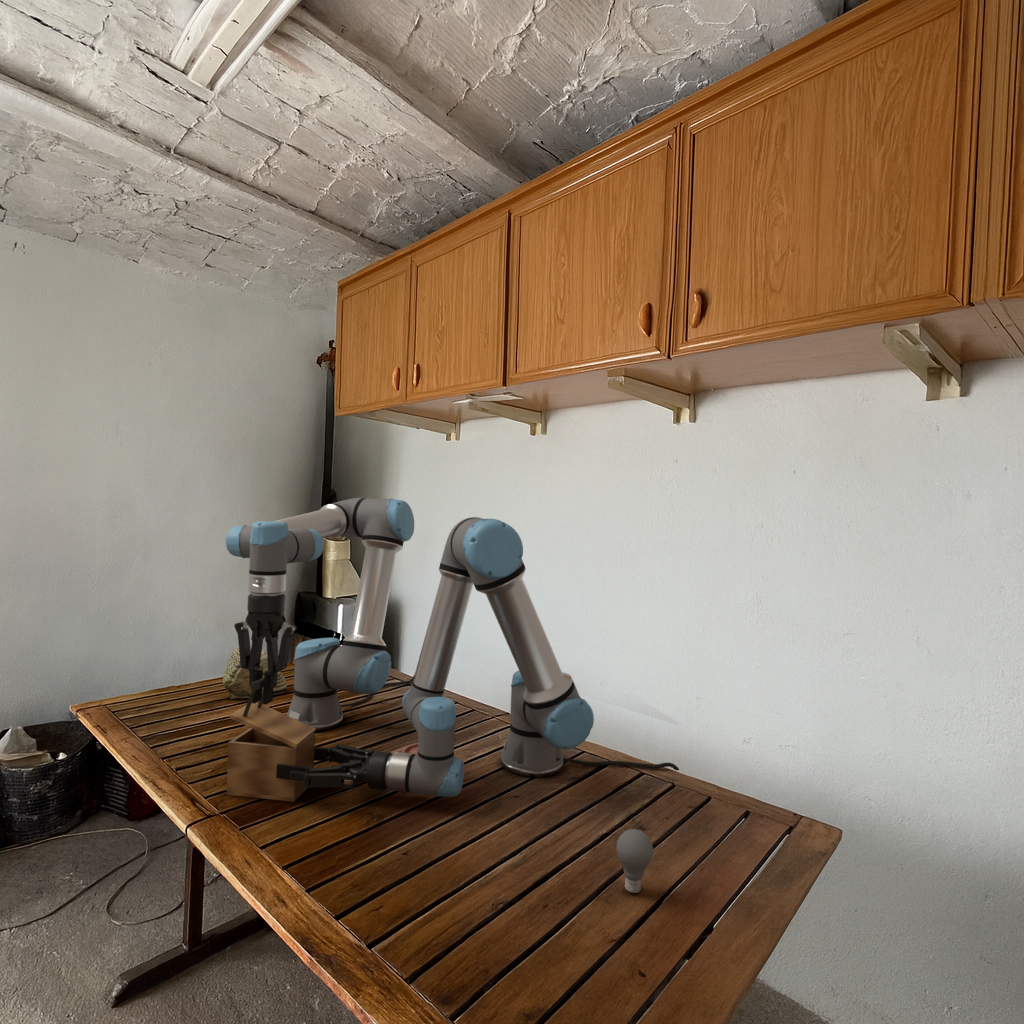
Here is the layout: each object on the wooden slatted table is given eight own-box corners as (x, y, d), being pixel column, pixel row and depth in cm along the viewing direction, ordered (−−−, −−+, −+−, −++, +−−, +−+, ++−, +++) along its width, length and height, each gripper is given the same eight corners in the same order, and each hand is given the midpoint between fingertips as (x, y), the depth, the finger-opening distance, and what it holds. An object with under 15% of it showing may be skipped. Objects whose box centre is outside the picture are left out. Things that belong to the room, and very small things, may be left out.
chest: (226, 794, 133) (228, 742, 133) (249, 775, 142) (251, 726, 142) (294, 801, 131) (296, 748, 131) (313, 782, 140) (315, 732, 140)
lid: (229, 718, 133) (243, 679, 132) (252, 704, 142) (265, 667, 141) (295, 748, 131) (310, 709, 130) (314, 732, 140) (328, 695, 139)
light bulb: (610, 879, 108) (613, 822, 108) (644, 879, 109) (647, 822, 109) (619, 902, 102) (622, 840, 102) (655, 901, 103) (658, 840, 103)
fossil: (218, 695, 195) (220, 647, 195) (278, 685, 208) (279, 640, 207) (228, 703, 189) (230, 653, 188) (289, 692, 201) (290, 645, 201)
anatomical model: (361, 752, 147) (381, 734, 159) (361, 769, 148) (381, 750, 159) (415, 759, 145) (432, 741, 156) (415, 776, 145) (431, 757, 156)
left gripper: (224, 593, 133) (219, 704, 134) (291, 598, 131) (286, 710, 132) (244, 588, 141) (239, 693, 141) (307, 593, 139) (303, 699, 139)
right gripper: (371, 814, 122) (261, 802, 125) (404, 767, 144) (310, 758, 147) (372, 775, 122) (263, 764, 125) (405, 734, 144) (311, 726, 147)
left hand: (262, 701), depth 137 cm, fingers closed on lid, 2 cm apart
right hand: (288, 761), depth 136 cm, fingers closed on chest, 9 cm apart
